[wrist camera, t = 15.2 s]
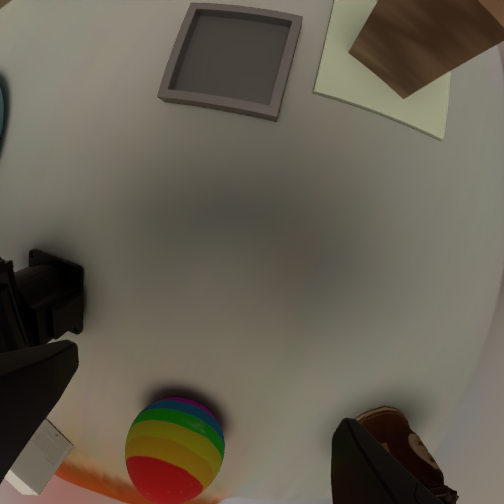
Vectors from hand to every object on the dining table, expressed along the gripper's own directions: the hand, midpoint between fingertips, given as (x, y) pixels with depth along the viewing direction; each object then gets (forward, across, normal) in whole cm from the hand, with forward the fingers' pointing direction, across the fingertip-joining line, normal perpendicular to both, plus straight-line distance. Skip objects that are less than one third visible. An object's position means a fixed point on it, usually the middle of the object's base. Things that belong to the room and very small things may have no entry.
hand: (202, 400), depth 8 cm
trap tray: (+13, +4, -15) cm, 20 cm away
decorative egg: (+13, +2, +15) cm, 20 cm away
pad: (+13, -6, -18) cm, 24 cm away
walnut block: (+12, -6, -18) cm, 23 cm away
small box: (+13, +21, +31) cm, 40 cm away
